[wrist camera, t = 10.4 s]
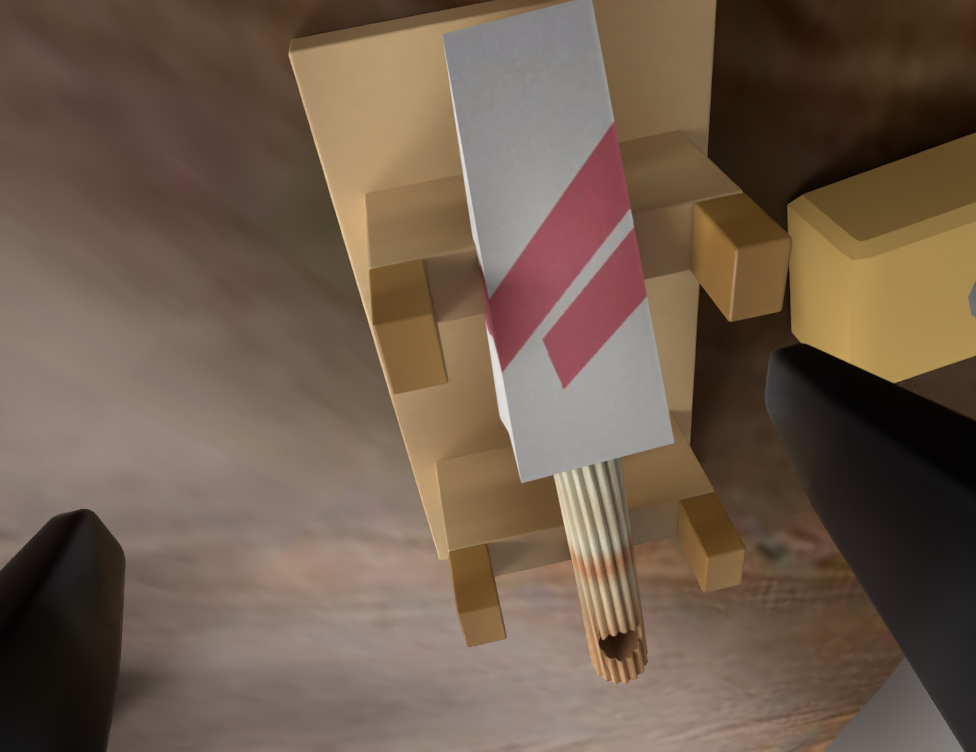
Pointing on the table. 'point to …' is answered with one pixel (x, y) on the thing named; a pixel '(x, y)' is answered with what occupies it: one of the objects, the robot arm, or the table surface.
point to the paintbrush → (563, 292)
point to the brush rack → (458, 287)
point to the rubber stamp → (890, 264)
